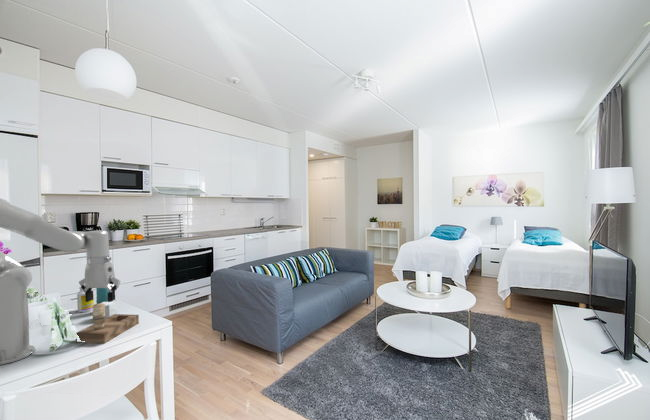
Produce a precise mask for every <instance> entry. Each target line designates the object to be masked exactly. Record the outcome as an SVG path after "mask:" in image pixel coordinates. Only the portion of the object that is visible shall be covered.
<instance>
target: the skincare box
mask: <svg viewBox="0 0 650 420" xmlns="http://www.w3.org/2000/svg"><path fill="white" fill-rule="evenodd" d="M102 303H105V318H107V317H109V316H112V315H114V314H117V301H116V300H113V301H111V302H102Z"/></svg>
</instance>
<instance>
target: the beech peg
mask: <svg viewBox="0 0 650 420" xmlns="http://www.w3.org/2000/svg"><path fill="white" fill-rule="evenodd" d="M104 322H105V303H99V304H96V303H94V305H93V310H92V323H93V324H94V326H95V330H101V329H103V328H104ZM93 324H92V325H93Z"/></svg>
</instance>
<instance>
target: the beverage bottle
mask: <svg viewBox="0 0 650 420" xmlns="http://www.w3.org/2000/svg"><path fill="white" fill-rule="evenodd" d="M110 288H111V287H110ZM95 289H96V290H95V291H96V293H95V294H96V303H95V304H99V303H102V302H108V292H109V291H108V290H107V289H106V288H95Z"/></svg>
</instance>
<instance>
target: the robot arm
mask: <svg viewBox="0 0 650 420" xmlns="http://www.w3.org/2000/svg"><path fill="white" fill-rule="evenodd" d="M0 228H2V229H4V230H7V231H10V232H13V233H14V234H15V233H16V234H18V235H21V236H23V237H25V238H28V239H29V240H31V241H35V242H38V243H39V244H42V245H43V246H47V247H50V248H53V249H55V250H59V251H60V252H61V251H62V252H65V253H70V254H71V253H76V252H79V251H80V250H81V249H86V251H85V252H86V263H87V264H85V268H84V269H85V270H84V278H83V279H80V280H79V281H78V283H79V287H80V286H81V288H82V289H83V292H85V298H86V302H89V301H91V300H93V299H95V298H93V296H94V290H93V289H96V288H106V289H107V290H108V291H109V292H108V302H111V301H116V291H117V289H118V288H119V287H120V283H121V280H120V279H118V278H116V274H115V270H114V265H113V263H112V262H111V261H112V257H110V246H109V245H110V243H109V242H110V241H109V232H108V231H107V230H103V229H99V230H89V231H80V230H79V231H77V230H75V231H74V230H73V231H69V230H67V229H65V228H63V227H60V226H56V225H54V224H52V223H50V222H49V221H48V220H46V219H44V218H43V217H42V216H41V215H39V214H37V213H34V212H32V211H29V210H26V209H23V208H20V207H18V206H15V205H13V204H11V203H10V202H9V201H8V200H5V199H3V198H0ZM32 280H33V274H32V272H31V271H30V270H29V269H28V268H27V267H26V266H24V265H22V264H21V263H19V262H18V261H16V260H15V259H14V258H13V257H11V256H9V255H8V254H6V253H5V252H3V251H1V250H0V366H1V365H5V364H11V363H13V362H14V363H15V362H19V361H20V360H23V359H25V358H28V357H30V356H31V355H30V353H31V352H33V351H36V346H35V345H30V323H29V316H30V315H29V300H28V291H27V289H28V287H29V286H30V284H31V282H32ZM110 287H111V288H110Z"/></svg>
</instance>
